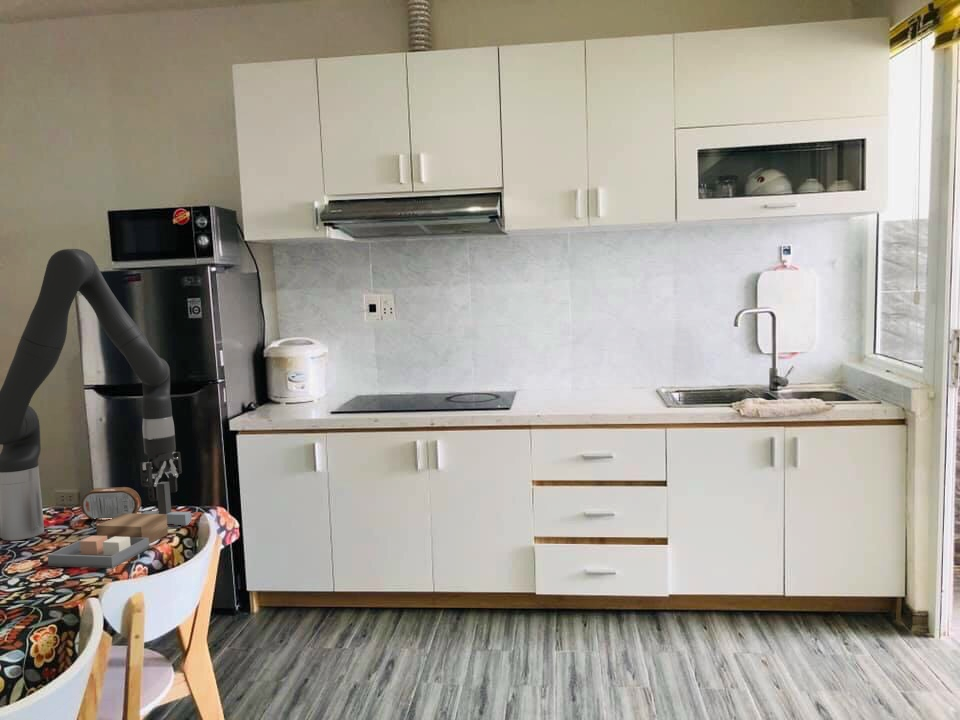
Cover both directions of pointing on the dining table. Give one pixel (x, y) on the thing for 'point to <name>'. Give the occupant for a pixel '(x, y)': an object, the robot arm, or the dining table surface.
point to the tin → (110, 502)
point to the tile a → (92, 544)
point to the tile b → (115, 545)
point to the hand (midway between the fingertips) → (163, 496)
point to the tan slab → (135, 526)
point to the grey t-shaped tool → (169, 507)
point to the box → (96, 555)
